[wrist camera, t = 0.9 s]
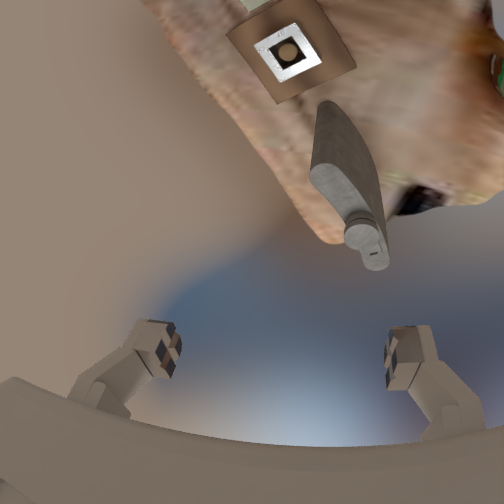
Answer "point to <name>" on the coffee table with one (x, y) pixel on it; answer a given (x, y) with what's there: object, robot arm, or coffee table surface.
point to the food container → (497, 73)
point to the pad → (253, 4)
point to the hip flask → (350, 184)
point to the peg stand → (292, 46)
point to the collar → (296, 66)
